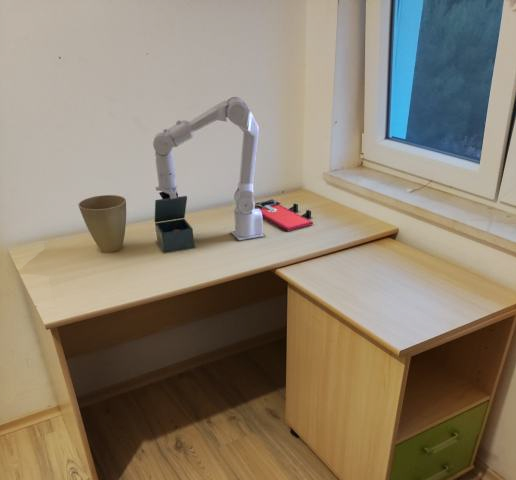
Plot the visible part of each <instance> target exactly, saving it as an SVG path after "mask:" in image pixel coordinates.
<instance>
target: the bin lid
mask: <svg viewBox="0 0 516 480" xmlns="http://www.w3.org/2000/svg"><path fill="white" fill-rule="evenodd" d="M187 202H188V196H187V195H182V196H178V197H177V198H174V199H170V198H167V199H162V198H161V199H155V200H154V221H153V222H154V223H159V222H165V221H172V220H179V219H186V210H187V204H188V203H187Z"/></svg>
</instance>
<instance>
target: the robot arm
mask: <svg viewBox="0 0 516 480" xmlns="http://www.w3.org/2000/svg"><path fill="white" fill-rule="evenodd" d="M227 119H228V120H229V121H230V122H231V123H232V124H234V125H236V126H238V128H239V129H240V130H241V132H243V136H242V144H241V157H240V168H239V178H238V184H237V188H236V190H235V192H234V196H233V198H234V202H235V205H236V206H235V208H234V209H233V211H234V230H233V231H231V234H232V235H233V236H234V237H235V238H236V239H237V240H238V241H244V240H250V239H255V238H261V237H264V236H265V235H264V219H263V218H264V217H262V213H261V211H260V209H261V208H255V207H256V204H255V203H256V201H255V199H254V179H255V169H256V161H257V160H256V159H257V150H258V142H259V132H260V131H259V129H260V127H259V125H258V122H257V121H256V119H255V117H254V115H253V113H252V111H251V109H250V108H249V106H248V105H247V104H246V103H245V102H244V101H243V100H242V98H240V97H238V96H232V97H230V98H228V99H227V100H223V101H221V102H219V103H218V104H215V105H214V106H212V107H210V108H209V109H207V110H206V111H204V112H202V113H201V114H199V115H198V116H197V117H195V118H193V119H192V120H190V121H188V120H185V119H183V120H180V119H178V120H177V121H176V122H175V124H174V125H172V126H171V127H169V128H163V130H162V131H163V132H162V131H161V132H158V133H156V134H155V136H154V138H153V143H152V145H153V149H154V156H155V166H156V174H157V182H158V186H155V191H160V192H158V194H159V196H160V197H161V199H167V198H170V199H174V198H177V197H179V193H178V192H177V191H178V185H177V178H176V177H177V176H176V169H175V161H174V160H175V159H174V158H175V157H174V156H173V148H177V147H179V146H181V145H183V144H184V143H186V142H188V141H190V140H191V139H193V138H194V136H195V133H196V132H197V131H199V130H201V129H203V128H205V127H207V126H208V125H211V124H212V123H214V122H216V121H218V122H219V121H221V122H228V120H227Z"/></svg>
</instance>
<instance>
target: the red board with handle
mask: <svg viewBox="0 0 516 480" xmlns="http://www.w3.org/2000/svg"><path fill="white" fill-rule="evenodd" d="M255 205H257V206H258V207H260V208H259V209H260V211H261V213H262V217H263V218H264V219H265V220H267V221H268V222H271V223H272V224H274V225H275V226H277V227H279V228H281V229H283V230H284V231H287V232H290V231H294V230H298V229H300V228H305V227H308V226H311V225H313V224H314V222H313V221H312V220H310V219H312V211H311V210H309V209H306V210H305V213H303V214H301V215H300V214H299V204H298V203H293V204H292V205H293V206H291V207H289V208H287V207H285V206H283V205H282V204H281V202H279V201H276V200H274V199H273V198H272V199H268V200H264V201H259V202H255Z"/></svg>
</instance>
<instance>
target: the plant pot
mask: <svg viewBox="0 0 516 480" xmlns="http://www.w3.org/2000/svg"><path fill="white" fill-rule="evenodd" d="M77 205H78V209H79V212H80V214H81V217H82V219H83V221H84V224H85V225H86V228H87V230H88V233H89V234H90V236H91V238H92V239H93V241H94V242H95V243H96V244H95V245H96V246H97V247H98V249H99V250H100V251H101V252H103V253H115V252H118V251H120V250H122V248H123V245H124V240H125V234H126V225H127V199H126V198H125V197H124V196H121V195H116V194H104V195H95V196H90V197H88V198H87V197H86V198H84V199H82V200H80V201H79V203H78V204H77Z"/></svg>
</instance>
